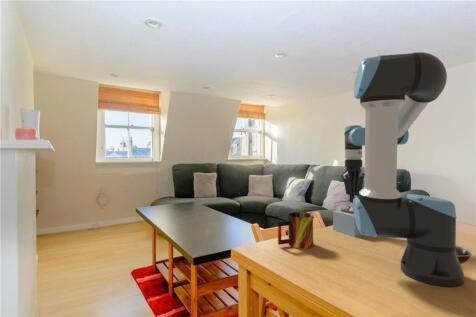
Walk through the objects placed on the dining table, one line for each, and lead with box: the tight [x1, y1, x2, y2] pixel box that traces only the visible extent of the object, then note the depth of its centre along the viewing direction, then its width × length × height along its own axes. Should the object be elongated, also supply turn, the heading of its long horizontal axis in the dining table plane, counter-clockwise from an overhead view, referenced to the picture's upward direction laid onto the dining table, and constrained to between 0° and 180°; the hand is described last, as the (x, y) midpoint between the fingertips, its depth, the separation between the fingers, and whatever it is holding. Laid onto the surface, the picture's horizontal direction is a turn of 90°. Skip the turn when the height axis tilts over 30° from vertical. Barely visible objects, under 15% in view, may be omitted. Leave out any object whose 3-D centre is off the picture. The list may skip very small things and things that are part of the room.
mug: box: [277, 211, 314, 250], centre depth 103 cm, size 10×14×12 cm
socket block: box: [332, 207, 363, 238], centre depth 122 cm, size 14×12×10 cm
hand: (353, 209), depth 122 cm, fingers closed
